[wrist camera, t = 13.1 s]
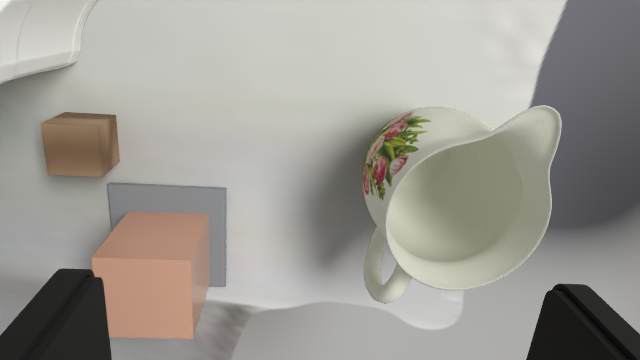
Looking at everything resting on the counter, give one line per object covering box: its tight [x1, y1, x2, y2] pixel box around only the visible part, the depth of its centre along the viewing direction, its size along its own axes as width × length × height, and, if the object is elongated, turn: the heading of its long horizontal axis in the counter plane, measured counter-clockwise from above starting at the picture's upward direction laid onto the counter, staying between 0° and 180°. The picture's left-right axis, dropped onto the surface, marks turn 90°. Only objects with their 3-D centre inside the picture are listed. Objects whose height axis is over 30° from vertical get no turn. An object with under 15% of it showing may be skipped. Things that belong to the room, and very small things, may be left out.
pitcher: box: [362, 105, 562, 304], centre depth 34 cm, size 11×18×14 cm, turn 152°
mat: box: [108, 183, 226, 287], centre depth 42 cm, size 10×10×1 cm
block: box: [41, 112, 120, 177], centre depth 37 cm, size 4×4×4 cm
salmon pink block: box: [91, 211, 210, 339], centre depth 38 cm, size 7×7×8 cm
